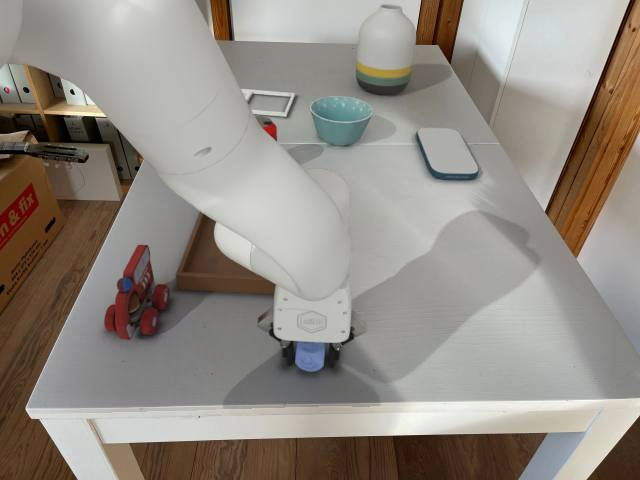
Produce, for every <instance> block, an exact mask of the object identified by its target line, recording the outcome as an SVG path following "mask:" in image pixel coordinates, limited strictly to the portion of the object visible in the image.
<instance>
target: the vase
mask: <svg viewBox="0 0 640 480" xmlns="http://www.w3.org/2000/svg"><path fill="white" fill-rule="evenodd" d="M416 43H417V31H416V27H415V25H414V23H413V22H412V20H411V19H410V18H409V17H408V16H407V15H406V14H405V13H404V12H403V7H402V5H400V4H396V3H381V4H380V5H379V6H378V9H377V10H376V11H375V12H374V13H372V14H370V15H369V16H368V17H366V18H365V20H364V21H363V22H362V23H361V26H360V28H359V31H358V36H357V49H356V60H355V61H356V62H355V63H356V64H355V78H356V82H357V84H358V86H359V87H360V88H361V89H362V90H363V91H366V92H368V93H371V94H375V95H382V96H383V95H387V96H388V95H389V96H390V95H395V94H399V93H401V92H402V91H404V90H405V89H406V88H407V86H408V84H409V82H410V79H411V76H412V70H413V64H414V58H415V57H414V56H415V50H416V45H417V44H416Z"/></svg>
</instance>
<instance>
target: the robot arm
mask: <svg viewBox="0 0 640 480" xmlns="http://www.w3.org/2000/svg"><path fill="white" fill-rule="evenodd" d="M5 65H16V66H17V65H18V66H29V67H34V68H37V69H39V70H41V71H43V72H45V73H48V74H50V75H53V76H56V77H58V78H59V79H63V80H65V81H67V82H70V83H71V84H73V85H74V86H75V87H77V88H78V89H79V90H80V91H82V92H83V93H84V94H85V95H86V96H87V97H88V98H89V99H90V100H91V101H92V102H93V103H94V105H95V106H96V107H97V108H98V109H99V111H100V112H102V113H103V115H104V116H105V117H106V118H107V119H108V120H109V121H110V123H112V124H113V126H114V127H115V128H116V129H117V130H118V132H119V133H120V134H122V136H123V137H124V138H125V139H126V140H127V141H128V142H129V144H130V145H131V146H132V147H133V148H134V149H135V150H136V152H137V153H138V154H139V155H140V156H141V157H142V159H144V160H145V161H146V163H147V164H148V165H149V166H150V167H151V168H152V170H153V171H154V172H155V173H156V174H157V175H158V176H159V178H160V179H161V180H162V181H163V183H164V184H165V185H166V186H167V187H168V188H169V189H171V190H172V191H173V192H174V193H175V194H176V195H177V196H178V197H180V198H182V199H183V200H184V201H185V202H186V203H188V204H189V205H191V206H192V207H193V208H194V209H196V210H197V211H199V213H200V212H202V213H203V214H205V215H206V216H208V217H210V218H211V219H213V220H214V221H216V224H215V229H214V238H215V242H216V244H217V246H218V248H219V249H220V251H221V252H222V253H223V254H224V255H226V256H227V257H228V258H230V259H231V260H233V261H235V262H237V263H238V264H240V265H242V266H244V267H245V268H247V269H249V270H251V271H252V272H254V273H256V274H258V275H260V276H262V277H264V278H266V279H267V280H269V281H271V282H273V283H274V284H276V286H275V294H273V295H274V296H273V305H272V306H271V307H270V308H268V309H267V310H266V311H265V312H264V313H262V314H261V315H260V316H258V317H257V323H256V327H257V328H259V329H261V330H262V331H264V332H265V333H268V335H269V336H270V337H271V338H272V339H274V340H275V341H277V342H278V343H279V347H280V348H281V349H282V354H281V355H282V358H286V367H291V366H293V359H294V346H295V345H294V342H297V341H304V342H326V344H328V343H329V346H328V368H329V369H335V368H334V366H335V361H339V360H340V354H341V353H340V352H341V350H342V349H343V346H344V345H346V344H348V343H350V342H352V341H353V340H354V339H355V337H356V338H357V337H359V336H361V335H364V334H366V333H367V332H368V326H367V325H368V324H367V322H366V321H365V320H364V319H363V318H362V317H361V316H360V315H359V314H358V313H357V312H356V311H355V310H354V309H352V304H353V303H352V302H353V301H352V300H353V299H352V298H353V295H352V284H351V279H350V278H351V277H350V274H349V271H350V269H351V268H350V267H351V264H352V251H353V249H352V243H351V237H350V234H349V226H350V225H349V224H350V214H351V201H352V191H351V186H350V184H349V183H348V181H347V180H346V178H344V176H342V175H341V174H339V173H337V172H336V171H333V170H330V169H326V168H320V167H319V168H317V167H316V168H315V167H314V168H313V167H312V168H303V167H302V166H301V164H300V163H298V161H296V159H294V157H293V156H292V155H291V154H290V153H289V152H288V151H287V150H286V149H285V147H283V146H282V144H280V143H279V142H278V140H277V141H276V140H275V139H273V138H272V137H271V136H270V135H269V134H268V133H267V132H266V131H265V130H264V129H263V128H262V127H261V126H260V124H259V123H258V121H257V119H256V118H255V116H256V115H255V114H253V112H252V110H253V109H252V108H251V106H250V104H249V101H248V102H247V100H246V98H245V96H244V94H243V92H242V90H241V89H242V88H241V87H240V84H239V83H238V81H237V79H236V76H235V75H234V74H233V71H232V70H231V67H230V65H229V63H228V61H227V59H226V58H225V55H224V53H223V52H222V50H221V48H220V46H219V44H218V42H217V40H216V38H215V36H214V34H213V33H212V30H211V28H210V27H209V25H208V23H207V21H206V19H205V17H204V15H203V13H202V11H201V9H200V7H199V6H198V4H197V2H196V0H0V70H2V68H3V67H4V66H5Z"/></svg>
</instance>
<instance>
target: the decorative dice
mask: <svg viewBox="0 0 640 480" xmlns="http://www.w3.org/2000/svg"><path fill="white" fill-rule="evenodd" d="M326 349H327V343H326V342H304V341H296V348H295V357H294V358H295V360H294V363H295V365H296V366H297V368H299V369H301V370H303V371H305V372H317V371H319V370H322V369H323V368H324V367H325V360H326Z"/></svg>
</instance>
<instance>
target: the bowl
mask: <svg viewBox="0 0 640 480" xmlns="http://www.w3.org/2000/svg"><path fill="white" fill-rule="evenodd" d="M309 110H310V114H311V118H312V122H313V124H314V127H315V131H316V133H317V135H318V137H319V138H320V139H321V140H323V141H324V143H327V144H329V145H332V146H336V147H345V146H350V145H353V144H354V143H357V142H358V141H359V140H360V139H361V138H362V137H363V134H364V132H365V131H366V129H367V127H368V125H369V122H370V120H371V118H372V116H373V114H374V109H373V107H372V106H371V105H370V104H369V103H367V102H366V101H363V100H361V99H359V98H356V97H350V96H343V95H329V96H324V97H320V98H317V99H315V100H313V101H312V102H310V105H309Z"/></svg>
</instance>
